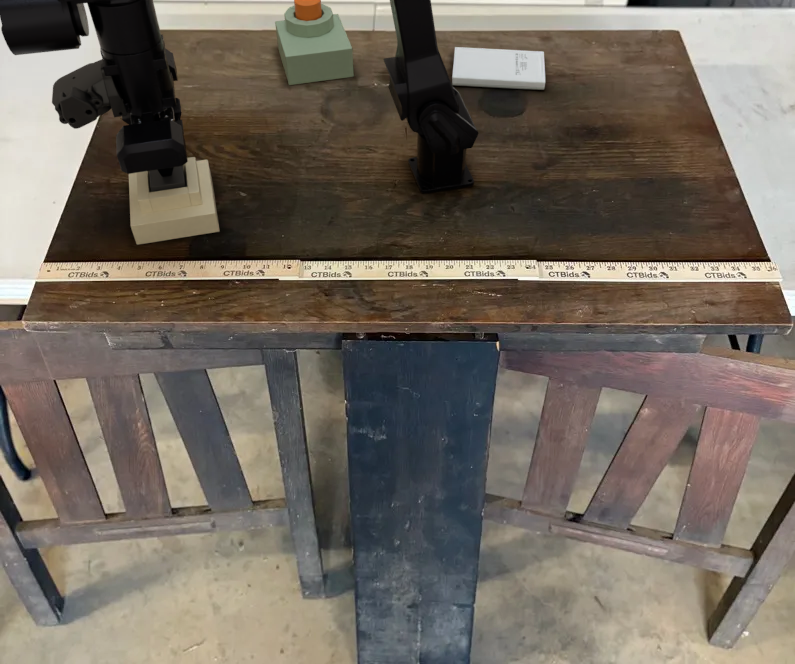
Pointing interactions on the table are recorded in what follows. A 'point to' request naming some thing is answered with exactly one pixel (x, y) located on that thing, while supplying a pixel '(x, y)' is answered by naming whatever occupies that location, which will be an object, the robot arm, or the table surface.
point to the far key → (308, 9)
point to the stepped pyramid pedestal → (173, 206)
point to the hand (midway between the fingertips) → (166, 174)
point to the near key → (167, 180)
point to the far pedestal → (314, 48)
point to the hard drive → (499, 68)
